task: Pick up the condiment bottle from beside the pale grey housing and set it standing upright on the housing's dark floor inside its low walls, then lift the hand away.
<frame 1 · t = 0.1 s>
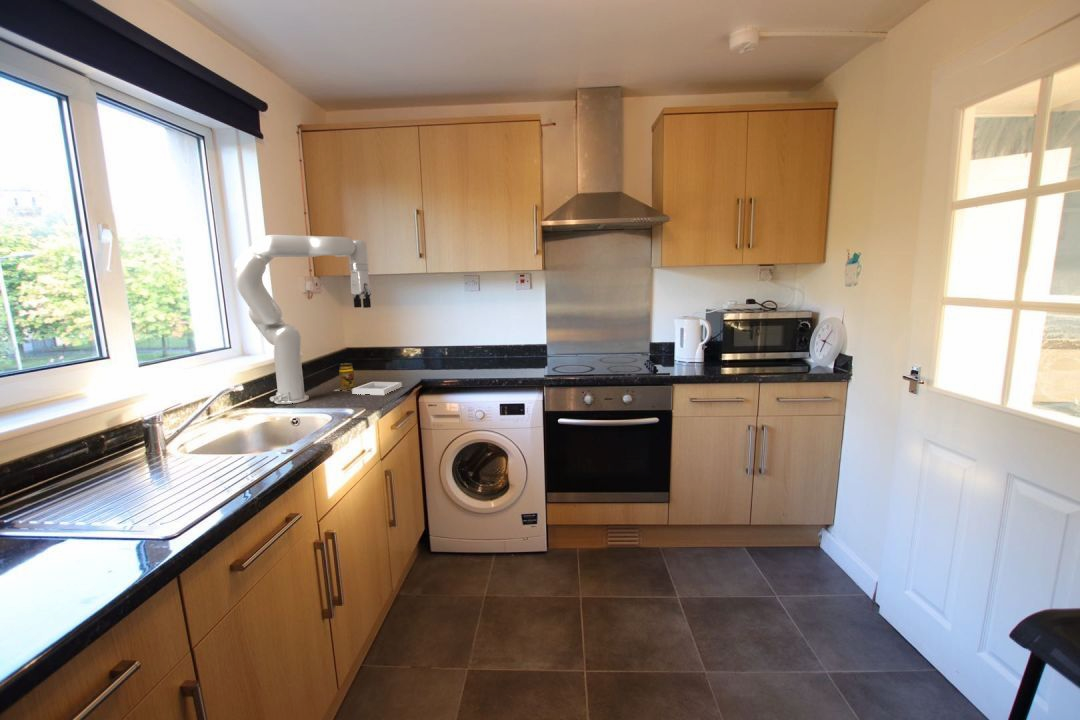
hand: (362, 307, 207), 37 cm above the worktop, tool pointing down, fingers open, 9 cm apart
housing: (378, 390, 206), on the worktop
condiment: (346, 389, 212), on the worktop
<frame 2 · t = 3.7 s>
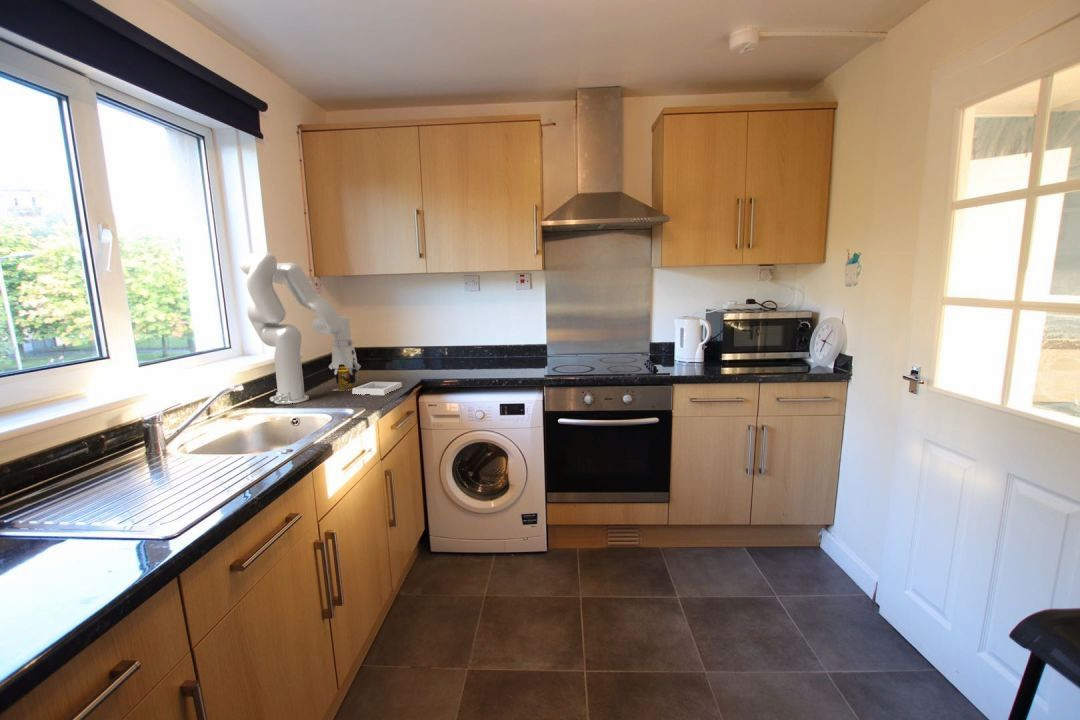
hand: (346, 382, 211), 3 cm above the worktop, tool pointing down, fingers closed on condiment, 6 cm apart
condiment: (344, 389, 212), on the worktop, touching gripper
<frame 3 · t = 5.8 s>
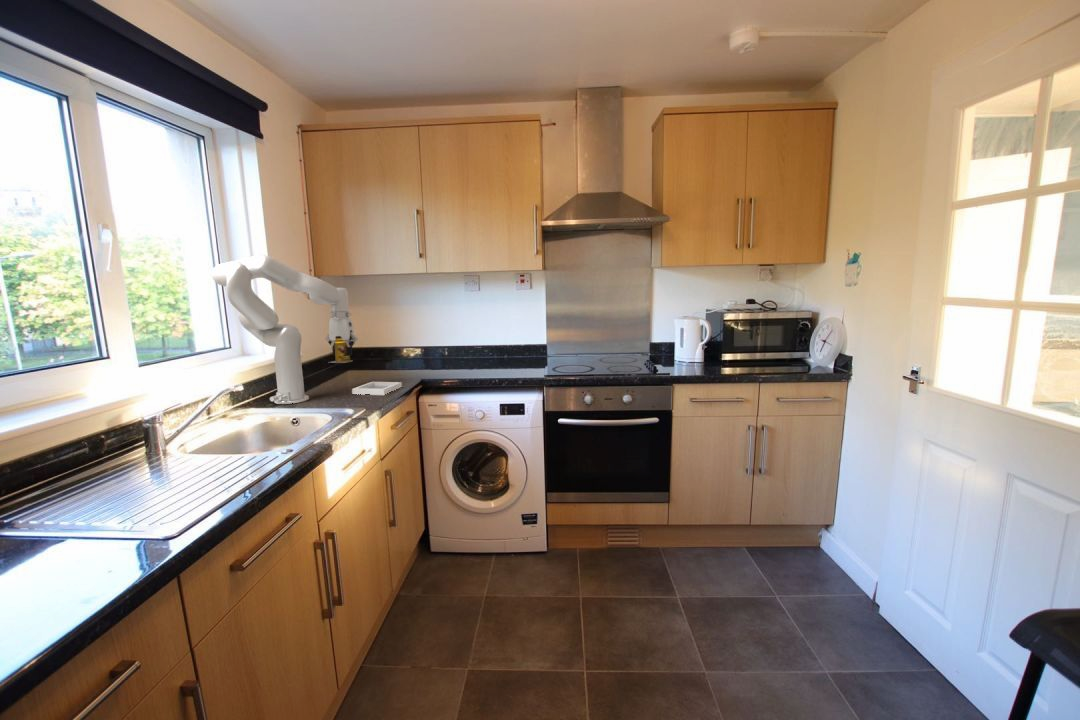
hand: (342, 355, 209), 16 cm above the worktop, tool pointing down, fingers closed on condiment, 6 cm apart
condiment: (341, 362, 209), point 13 cm above the worktop, touching gripper
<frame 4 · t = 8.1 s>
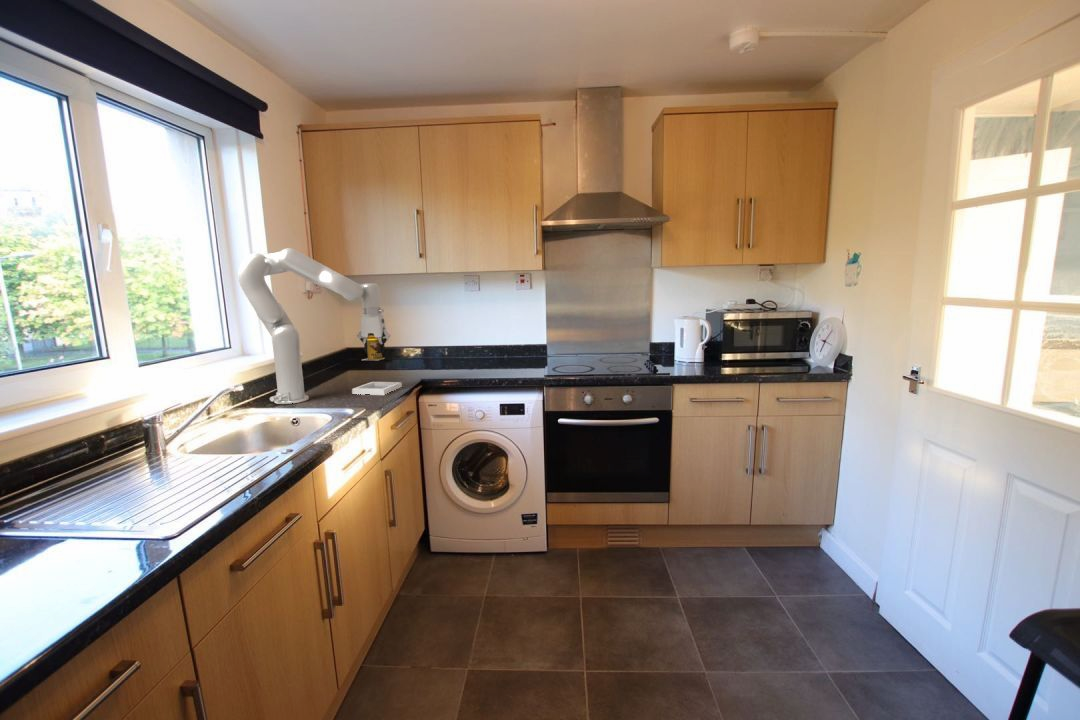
hand: (374, 352, 204), 17 cm above the worktop, tool pointing down, fingers closed on condiment, 6 cm apart
condiment: (373, 359, 204), point 14 cm above the worktop, touching gripper
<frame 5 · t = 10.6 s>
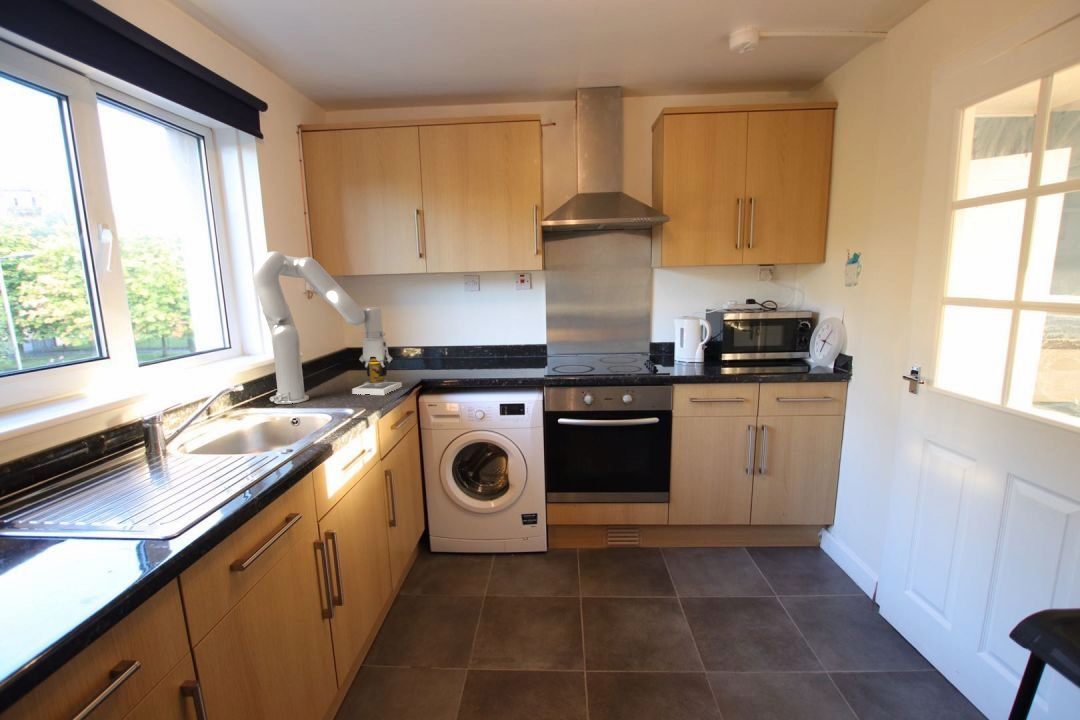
hand: (377, 375, 205), 7 cm above the worktop, tool pointing down, fingers closed on condiment, 6 cm apart
condiment: (375, 382, 206), point 4 cm above the worktop, touching gripper
when the fingers open (4 cm above the worktop, at t = 12.7 s): condiment stays where it is, resting on housing.
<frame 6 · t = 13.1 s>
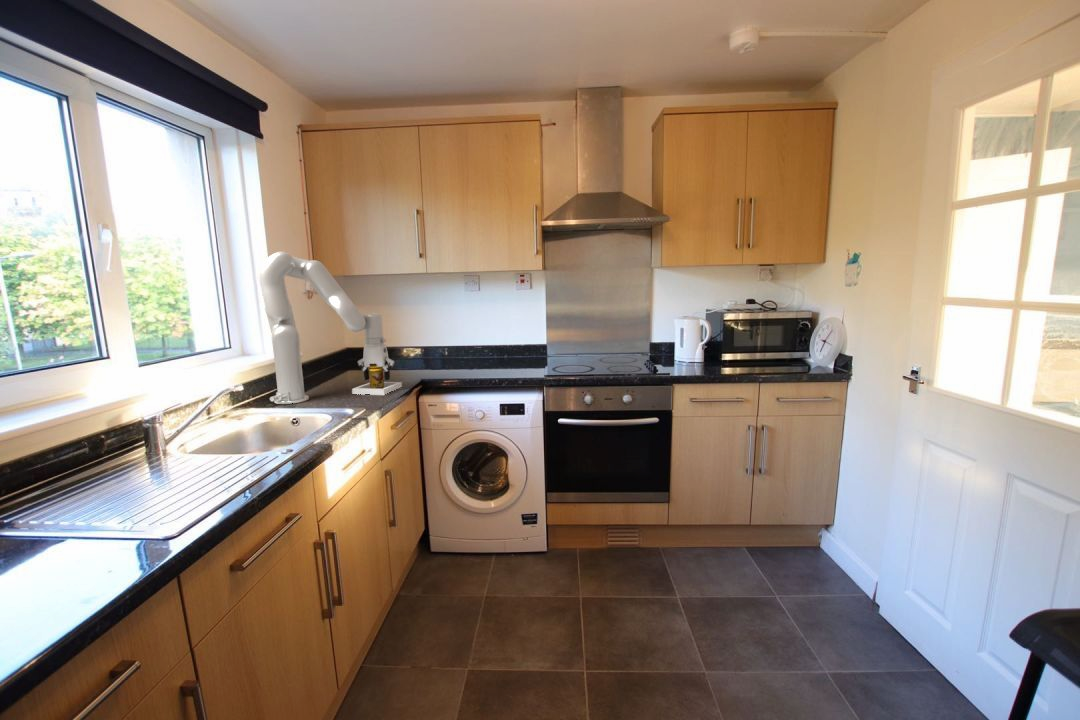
hand: (377, 379, 206), 5 cm above the worktop, tool pointing down, fingers open, 9 cm apart
condiment: (375, 389, 206), point 1 cm above the worktop, touching housing
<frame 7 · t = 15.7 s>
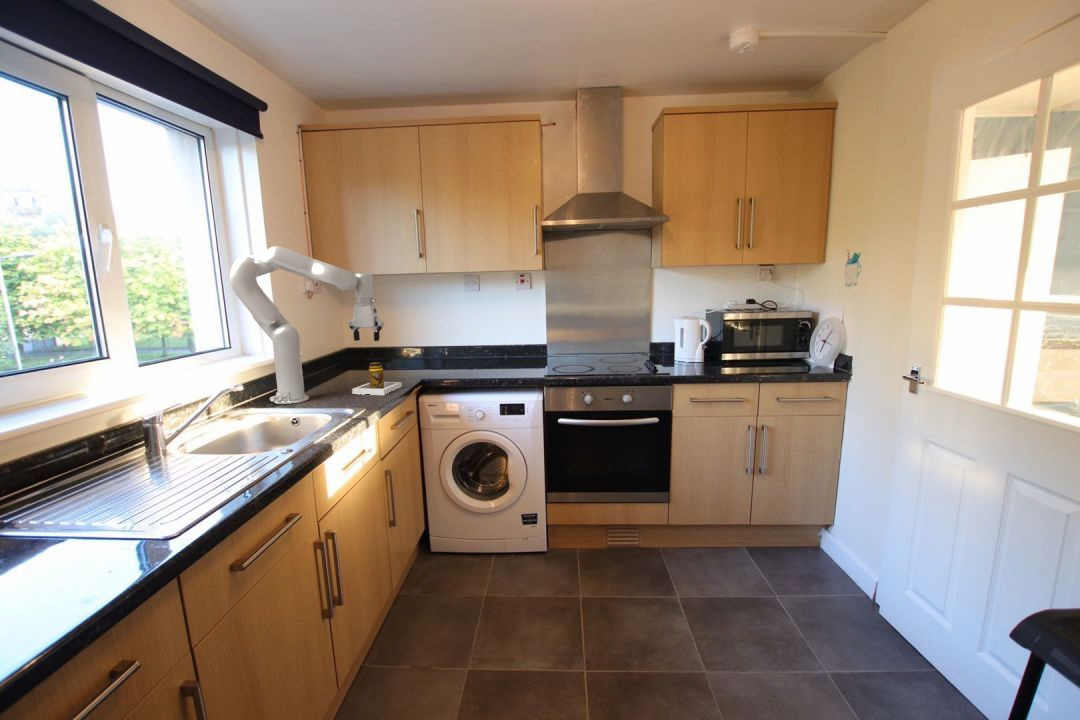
hand: (366, 340, 204), 23 cm above the worktop, tool pointing down, fingers open, 9 cm apart
nothing on the worktop moved.
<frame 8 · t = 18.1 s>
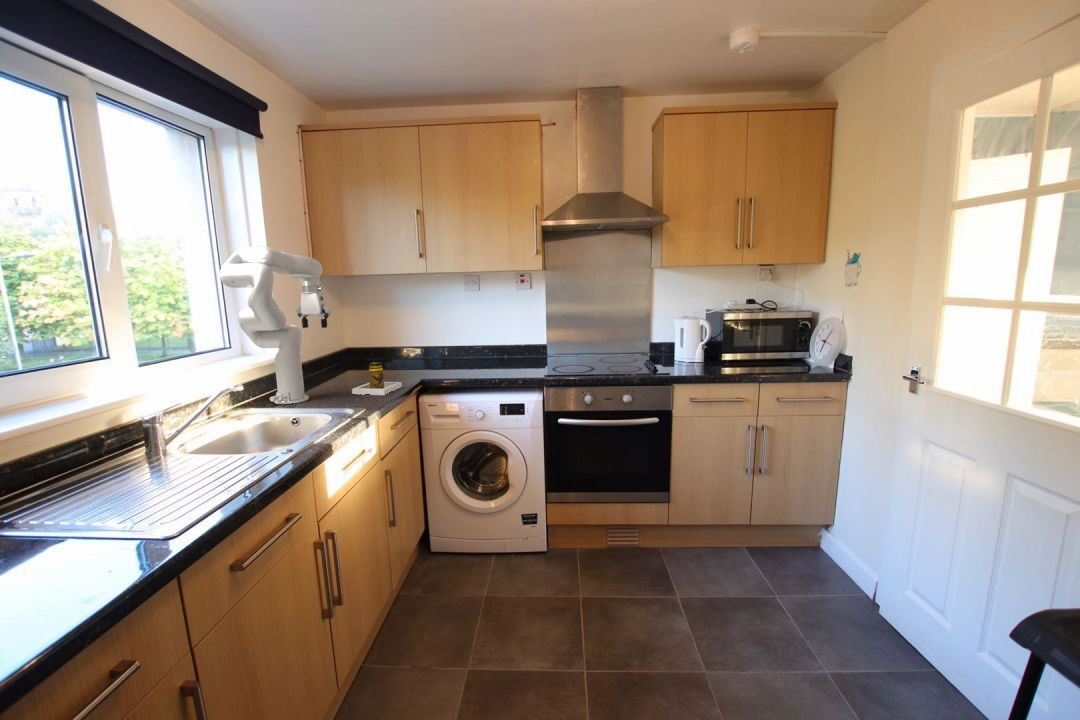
hand: (314, 327, 211), 28 cm above the worktop, tool pointing down, fingers open, 9 cm apart
nothing on the worktop moved.
at the end: condiment 1.1 cm off-centre on the housing, point 0.6 cm above the housing's base; condiment tilted 0°; the gripper is holding nothing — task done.
